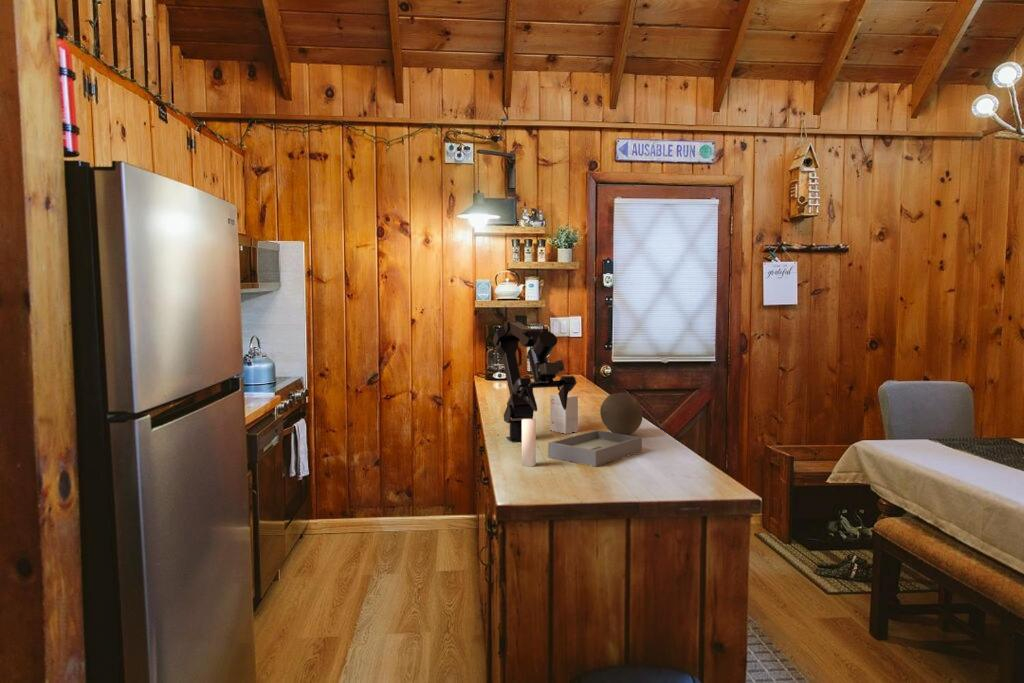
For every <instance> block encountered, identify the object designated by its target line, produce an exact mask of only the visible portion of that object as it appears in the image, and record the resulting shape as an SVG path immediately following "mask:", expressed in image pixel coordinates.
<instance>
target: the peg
mask: <svg viewBox="0 0 1024 683" xmlns="http://www.w3.org/2000/svg"><path fill="white" fill-rule="evenodd" d="M536 434H537V420H536V418H535V419H534V418H533V419H522V441H521V466H522V465H523V466H522V467H524V466H527V467H526V468H531V467H530V466H534V467H535V465H536V464H537V463H536V462H537V461H536V460H537V458H536V456H537V455H536V454H537V453H536V452H537V446H536V445H537V441H536V440H537V438H536V437H537V435H536Z"/></svg>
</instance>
